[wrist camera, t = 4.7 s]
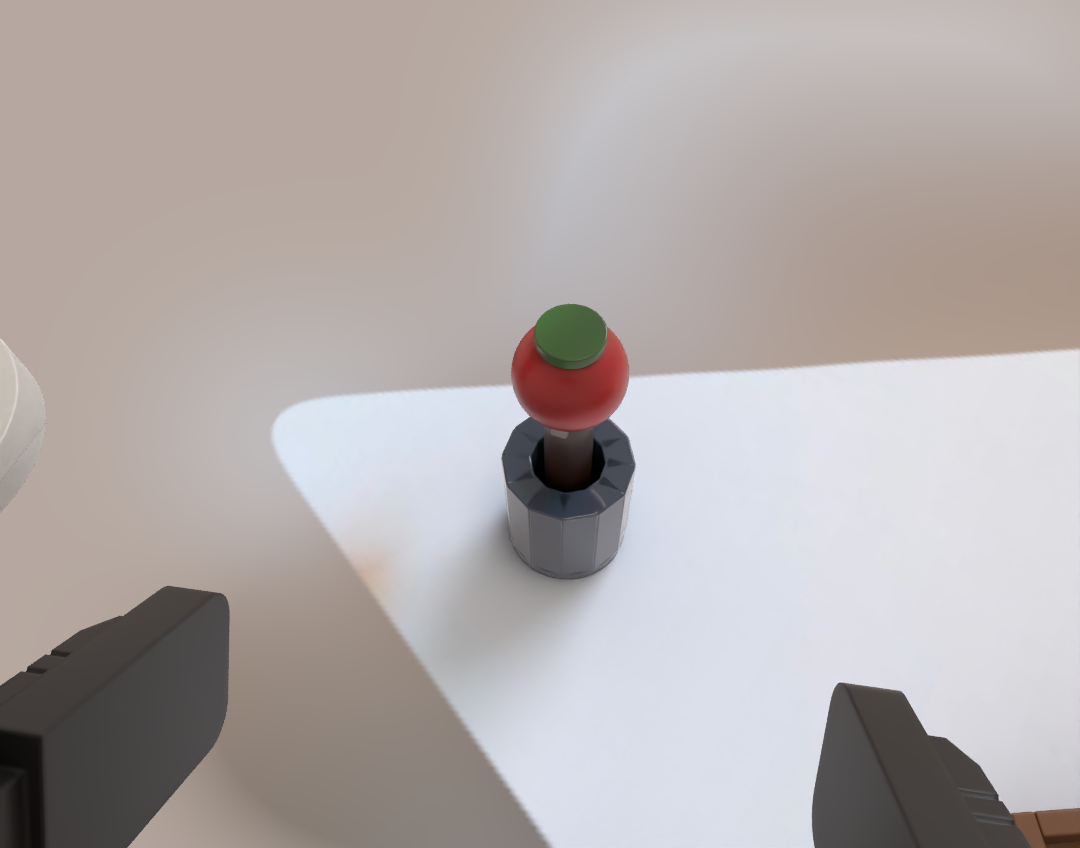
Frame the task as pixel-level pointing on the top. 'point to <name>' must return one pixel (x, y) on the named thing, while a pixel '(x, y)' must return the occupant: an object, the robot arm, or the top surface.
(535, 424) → the holder
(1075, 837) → the tray
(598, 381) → the red ball joystick
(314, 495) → the top surface
